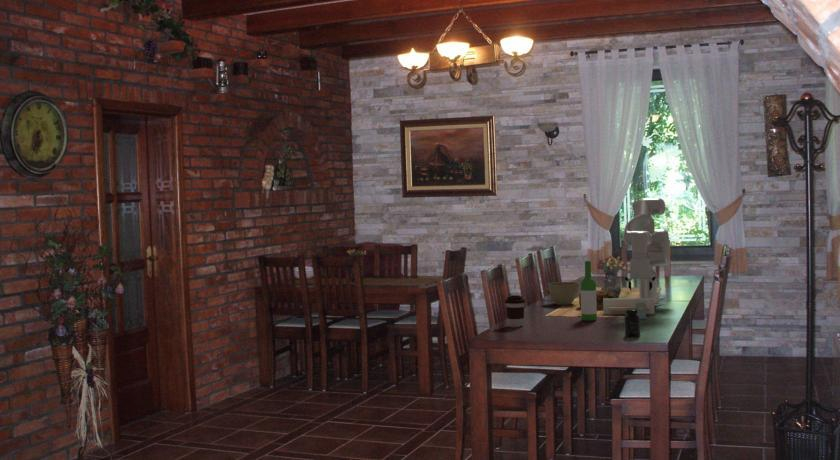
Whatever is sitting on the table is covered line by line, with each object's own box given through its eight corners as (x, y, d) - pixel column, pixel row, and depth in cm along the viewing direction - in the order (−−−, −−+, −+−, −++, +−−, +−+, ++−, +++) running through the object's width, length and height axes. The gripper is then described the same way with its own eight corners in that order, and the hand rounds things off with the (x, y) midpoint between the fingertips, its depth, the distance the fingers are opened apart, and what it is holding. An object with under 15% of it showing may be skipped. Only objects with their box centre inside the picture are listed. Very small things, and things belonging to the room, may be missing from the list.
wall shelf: (603, 312, 449) (603, 297, 449) (654, 312, 443) (653, 297, 443) (603, 315, 439) (602, 300, 439) (654, 315, 433) (654, 300, 432)
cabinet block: (635, 316, 431) (635, 301, 431) (646, 316, 430) (645, 301, 430) (636, 319, 424) (635, 303, 424) (646, 319, 423) (645, 303, 423)
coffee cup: (502, 326, 416) (501, 295, 416) (519, 324, 420) (518, 294, 420) (511, 328, 407) (511, 297, 407) (529, 326, 411) (528, 296, 411)
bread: (613, 306, 470) (612, 289, 470) (614, 309, 460) (613, 291, 459) (579, 307, 474) (578, 289, 473) (579, 309, 463) (579, 291, 463)
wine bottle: (580, 321, 423) (578, 261, 421) (582, 319, 430) (581, 260, 429) (595, 321, 420) (594, 261, 419) (598, 319, 427) (596, 260, 426)
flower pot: (584, 302, 489) (583, 282, 489) (572, 307, 474) (571, 285, 474) (555, 301, 499) (555, 281, 499) (543, 305, 484) (542, 284, 483)
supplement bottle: (622, 335, 380) (622, 308, 379) (637, 334, 380) (636, 308, 380) (627, 337, 373) (627, 310, 373) (642, 336, 374) (642, 310, 373)
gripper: (657, 255, 428) (657, 289, 428) (622, 256, 432) (622, 289, 432) (657, 256, 420) (658, 290, 421) (622, 256, 425) (622, 290, 425)
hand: (640, 289), depth 427 cm, fingers open, 9 cm apart
